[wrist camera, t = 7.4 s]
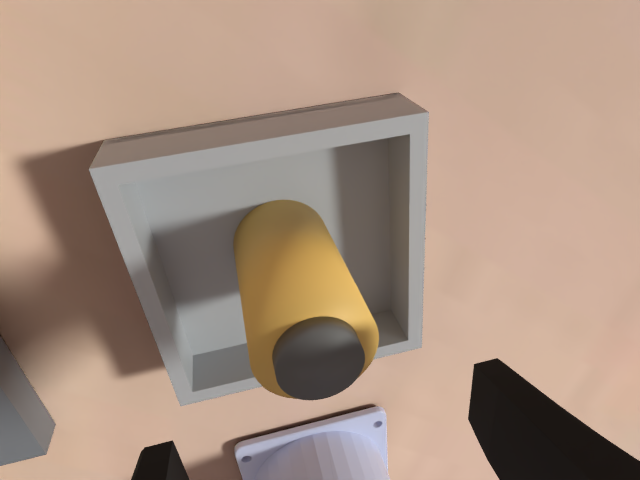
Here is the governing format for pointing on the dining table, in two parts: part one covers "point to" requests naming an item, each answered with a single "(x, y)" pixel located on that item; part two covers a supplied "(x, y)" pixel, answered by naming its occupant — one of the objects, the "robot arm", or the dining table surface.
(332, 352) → the cylinder
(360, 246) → the grey tray
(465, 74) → the dining table surface
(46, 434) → the fuse block
